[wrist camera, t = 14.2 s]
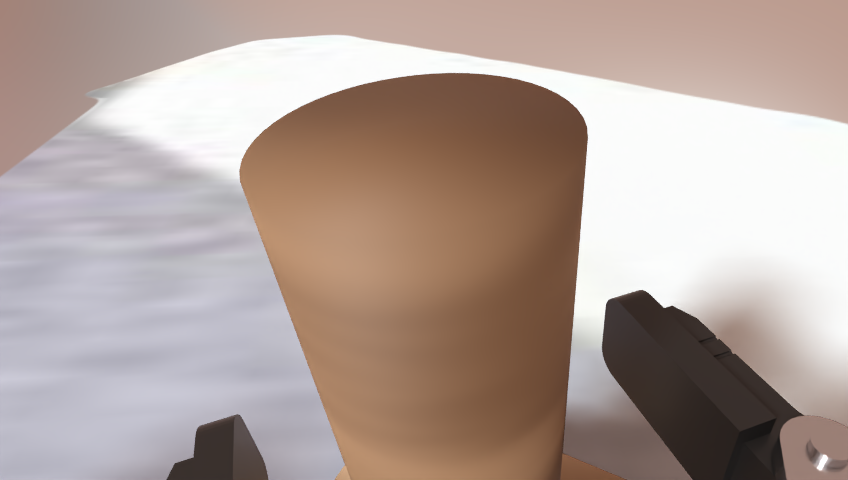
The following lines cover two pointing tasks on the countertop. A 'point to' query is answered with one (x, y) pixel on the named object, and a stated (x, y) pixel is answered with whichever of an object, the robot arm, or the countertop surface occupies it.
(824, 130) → the countertop surface
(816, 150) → the countertop surface
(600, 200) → the countertop surface
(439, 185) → the peg
